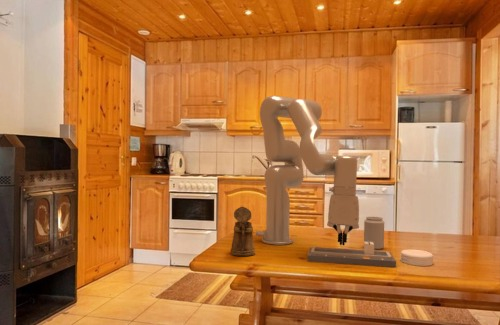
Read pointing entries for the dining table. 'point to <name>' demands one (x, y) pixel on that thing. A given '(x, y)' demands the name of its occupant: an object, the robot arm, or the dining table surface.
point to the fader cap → (368, 248)
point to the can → (374, 231)
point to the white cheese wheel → (417, 257)
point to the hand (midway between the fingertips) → (342, 244)
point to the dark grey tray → (350, 257)
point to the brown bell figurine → (242, 234)
